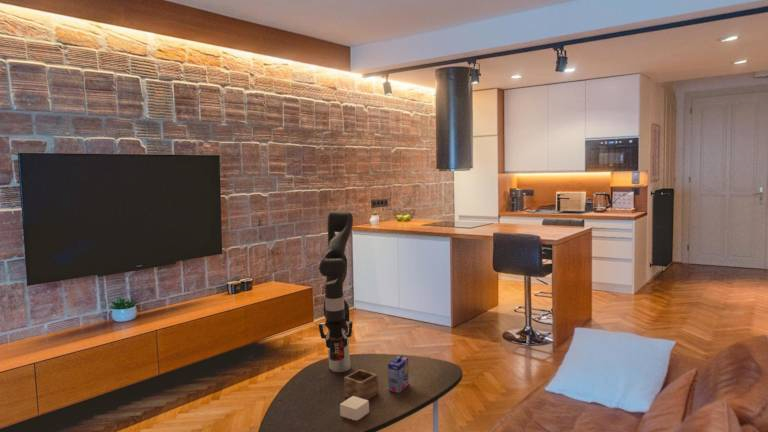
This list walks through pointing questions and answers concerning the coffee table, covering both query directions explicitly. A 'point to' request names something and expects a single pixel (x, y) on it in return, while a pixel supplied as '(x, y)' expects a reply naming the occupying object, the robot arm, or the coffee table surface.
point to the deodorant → (336, 342)
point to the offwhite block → (354, 408)
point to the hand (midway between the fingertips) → (336, 347)
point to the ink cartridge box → (398, 374)
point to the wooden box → (361, 384)
